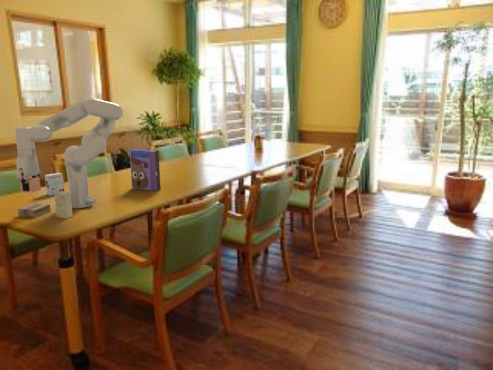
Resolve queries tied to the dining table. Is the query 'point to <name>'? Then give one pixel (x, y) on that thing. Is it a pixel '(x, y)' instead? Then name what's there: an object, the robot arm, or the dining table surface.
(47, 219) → the dining table surface
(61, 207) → the skincare box
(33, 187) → the terracotta cube
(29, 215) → the walnut block
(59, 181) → the ink box
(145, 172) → the cereal box
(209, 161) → the dining table surface
